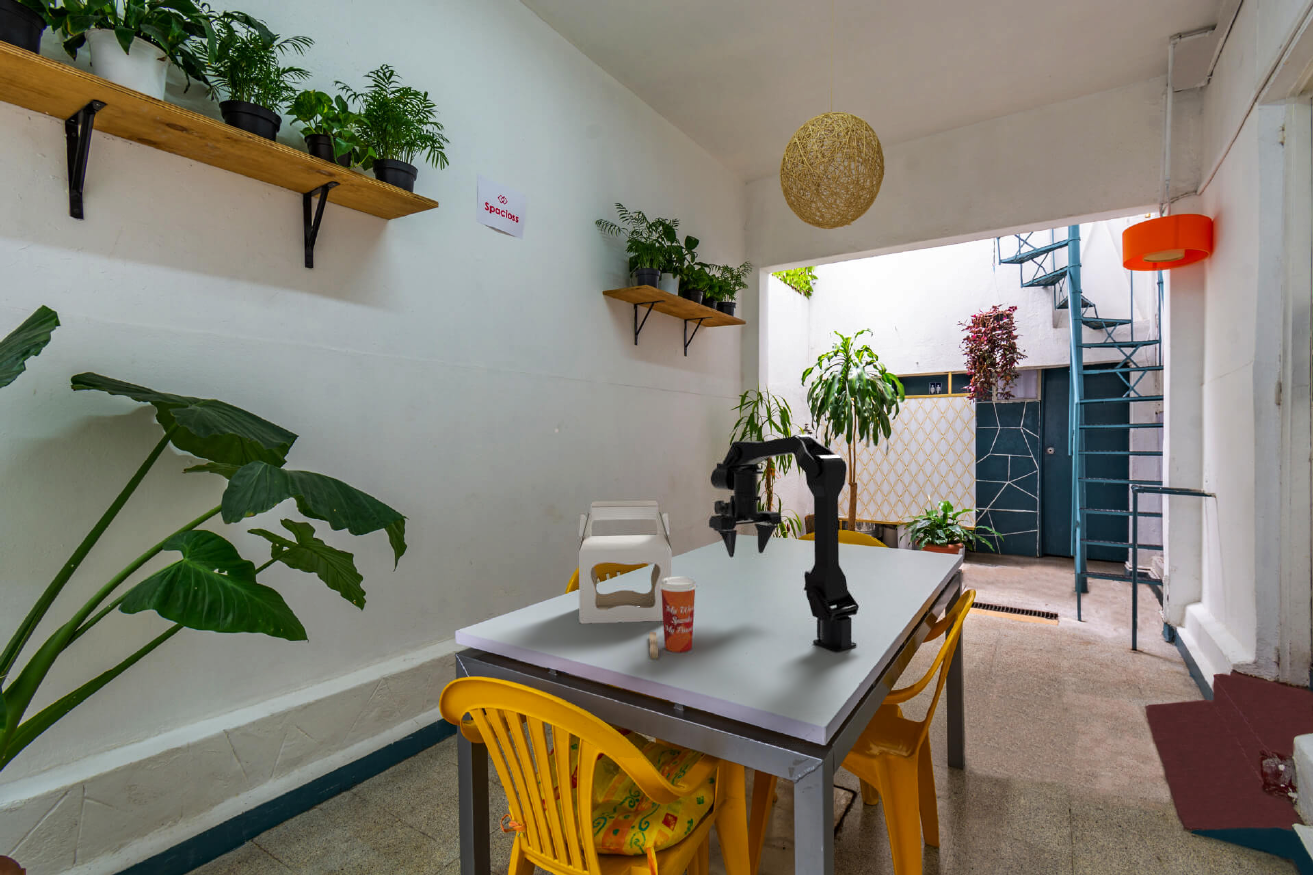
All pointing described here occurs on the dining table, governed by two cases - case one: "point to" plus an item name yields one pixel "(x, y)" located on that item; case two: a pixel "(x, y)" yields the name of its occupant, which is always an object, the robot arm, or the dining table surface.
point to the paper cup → (678, 612)
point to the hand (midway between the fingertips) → (746, 554)
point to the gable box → (623, 552)
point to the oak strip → (653, 645)
